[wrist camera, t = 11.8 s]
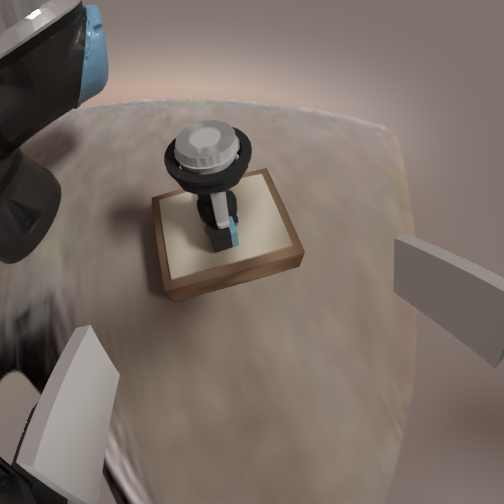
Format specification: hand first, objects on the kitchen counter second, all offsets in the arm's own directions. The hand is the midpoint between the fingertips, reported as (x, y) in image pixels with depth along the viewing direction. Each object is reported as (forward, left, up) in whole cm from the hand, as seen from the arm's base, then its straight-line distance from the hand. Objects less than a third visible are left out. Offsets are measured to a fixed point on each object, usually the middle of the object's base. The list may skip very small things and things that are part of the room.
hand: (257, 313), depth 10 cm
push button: (0, +11, -10) cm, 15 cm away
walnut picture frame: (0, +11, -13) cm, 17 cm away
